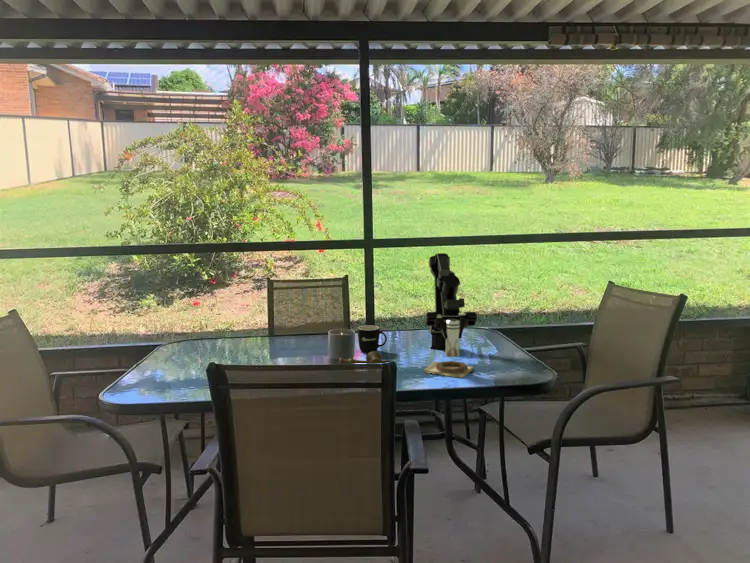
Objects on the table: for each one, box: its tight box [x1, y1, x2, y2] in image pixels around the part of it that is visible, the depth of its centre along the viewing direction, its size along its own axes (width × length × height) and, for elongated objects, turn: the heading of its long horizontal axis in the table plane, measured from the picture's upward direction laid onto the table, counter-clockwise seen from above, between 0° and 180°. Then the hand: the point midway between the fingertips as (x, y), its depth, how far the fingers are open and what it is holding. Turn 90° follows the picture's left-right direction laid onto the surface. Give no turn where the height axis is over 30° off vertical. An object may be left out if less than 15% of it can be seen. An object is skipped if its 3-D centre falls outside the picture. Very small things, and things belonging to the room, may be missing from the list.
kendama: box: [338, 351, 392, 364], centre depth 223 cm, size 6×10×20 cm
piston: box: [444, 319, 461, 358], centre depth 219 cm, size 5×5×13 cm
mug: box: [357, 324, 388, 354], centre depth 248 cm, size 12×9×10 cm
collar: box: [423, 360, 474, 379], centre depth 222 cm, size 15×12×2 cm
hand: (453, 338), depth 217 cm, fingers closed on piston, 5 cm apart
